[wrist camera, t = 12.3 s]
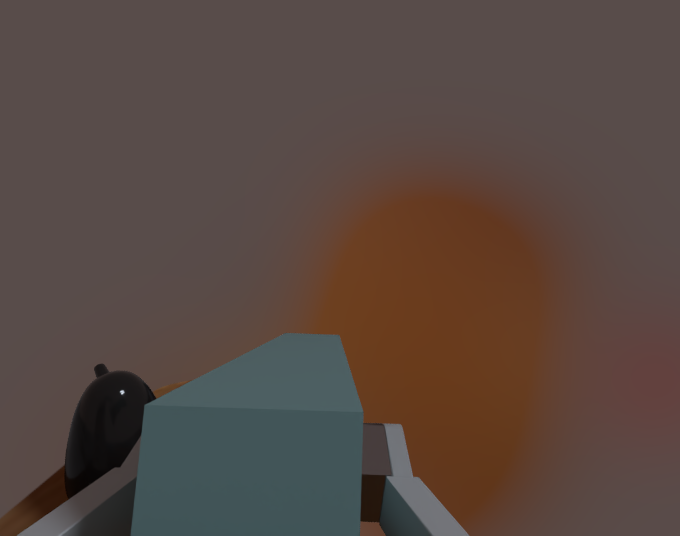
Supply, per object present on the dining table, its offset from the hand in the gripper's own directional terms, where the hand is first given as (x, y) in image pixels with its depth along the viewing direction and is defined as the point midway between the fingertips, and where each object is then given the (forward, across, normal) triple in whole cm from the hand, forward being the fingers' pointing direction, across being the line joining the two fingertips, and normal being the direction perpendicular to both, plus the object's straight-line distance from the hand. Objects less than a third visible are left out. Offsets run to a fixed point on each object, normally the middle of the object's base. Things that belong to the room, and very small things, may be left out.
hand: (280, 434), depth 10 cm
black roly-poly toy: (+18, +21, +32) cm, 42 cm away
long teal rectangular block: (+4, 0, +5) cm, 6 cm away
